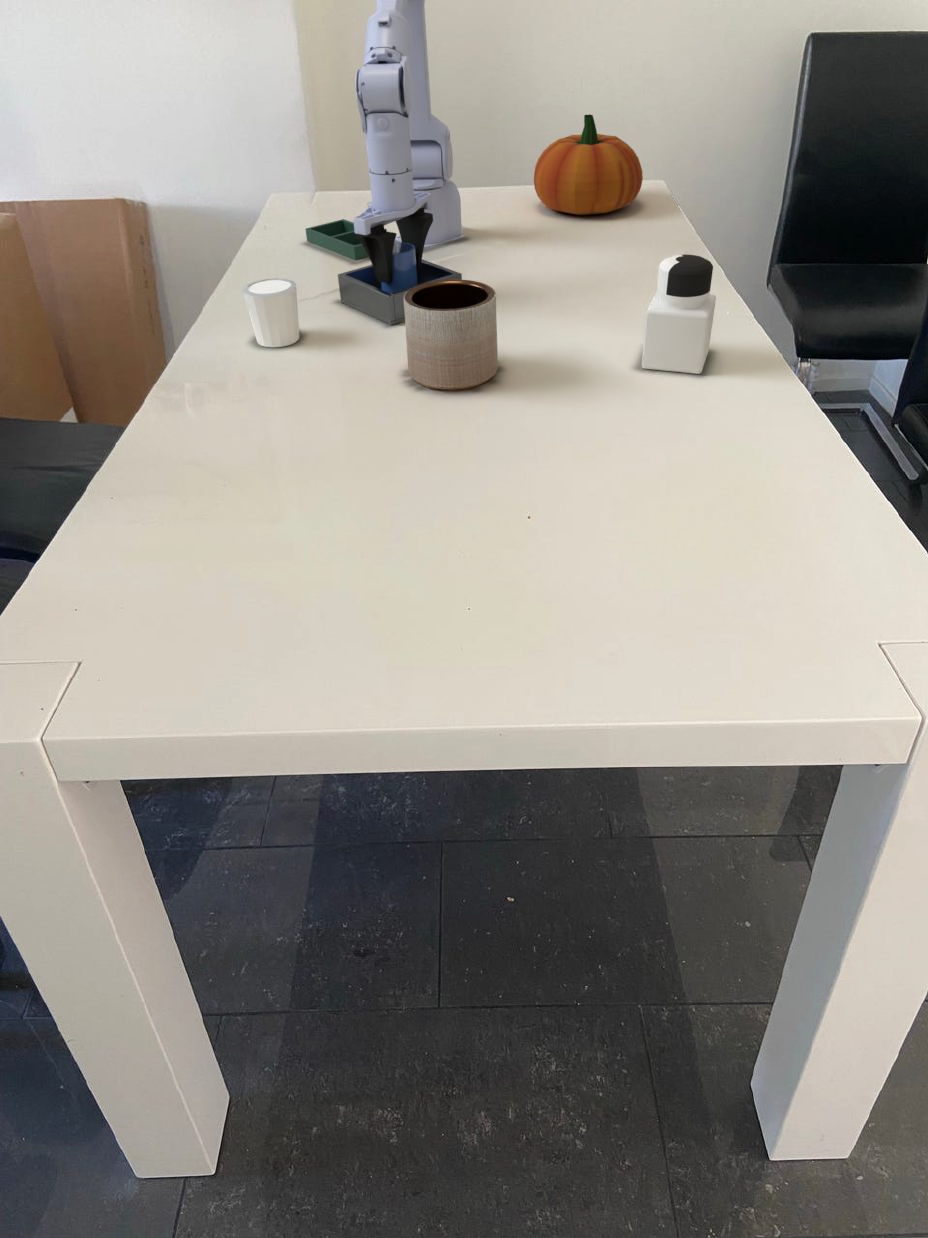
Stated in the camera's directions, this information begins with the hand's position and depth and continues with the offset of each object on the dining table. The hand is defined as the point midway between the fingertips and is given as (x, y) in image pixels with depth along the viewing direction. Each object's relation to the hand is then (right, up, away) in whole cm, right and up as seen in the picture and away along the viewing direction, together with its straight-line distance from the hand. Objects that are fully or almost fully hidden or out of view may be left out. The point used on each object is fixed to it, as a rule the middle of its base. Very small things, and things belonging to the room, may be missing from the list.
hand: (399, 274), depth 127 cm
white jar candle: (-16, -11, -7) cm, 20 cm away
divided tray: (-10, +13, +23) cm, 29 cm away
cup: (0, -3, +2) cm, 3 cm away
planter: (+8, -19, -17) cm, 27 cm away
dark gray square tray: (0, -3, +2) cm, 4 cm away
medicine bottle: (+35, -17, -17) cm, 42 cm away
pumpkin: (+31, +26, +37) cm, 55 cm away
